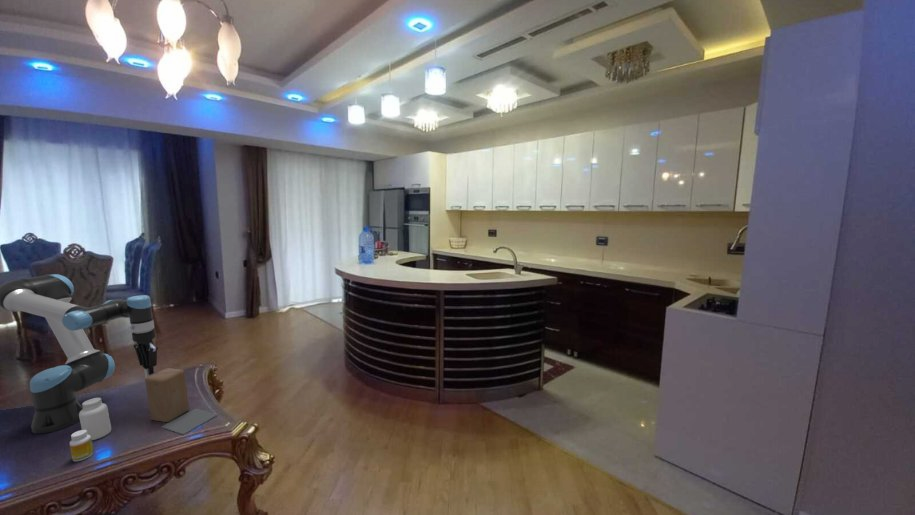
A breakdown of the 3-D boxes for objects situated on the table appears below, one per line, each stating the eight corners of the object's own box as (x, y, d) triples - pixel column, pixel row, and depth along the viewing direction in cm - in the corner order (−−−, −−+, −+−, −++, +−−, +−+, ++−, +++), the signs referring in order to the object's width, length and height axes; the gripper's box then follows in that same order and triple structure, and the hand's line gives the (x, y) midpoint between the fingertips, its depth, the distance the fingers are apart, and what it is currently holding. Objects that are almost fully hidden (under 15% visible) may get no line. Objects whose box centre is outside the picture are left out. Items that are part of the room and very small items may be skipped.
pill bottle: (91, 431, 143) (85, 397, 141) (115, 426, 146) (110, 394, 144) (78, 443, 136) (71, 408, 133) (104, 438, 139) (98, 404, 136)
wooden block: (168, 423, 148) (162, 380, 145) (149, 420, 150) (143, 377, 147) (190, 410, 158) (185, 369, 155) (172, 407, 160) (167, 367, 157)
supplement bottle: (93, 456, 129) (89, 432, 127) (72, 464, 125) (67, 439, 123) (93, 449, 132) (89, 426, 131) (72, 456, 129) (68, 433, 127)
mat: (161, 427, 145) (161, 426, 145) (196, 409, 158) (196, 408, 158) (183, 435, 141) (183, 434, 141) (217, 415, 154) (217, 414, 154)
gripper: (123, 331, 151) (131, 382, 154) (142, 335, 146) (150, 387, 150) (144, 326, 158) (151, 374, 161) (162, 329, 153) (169, 379, 157)
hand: (150, 380), depth 156 cm, fingers closed
